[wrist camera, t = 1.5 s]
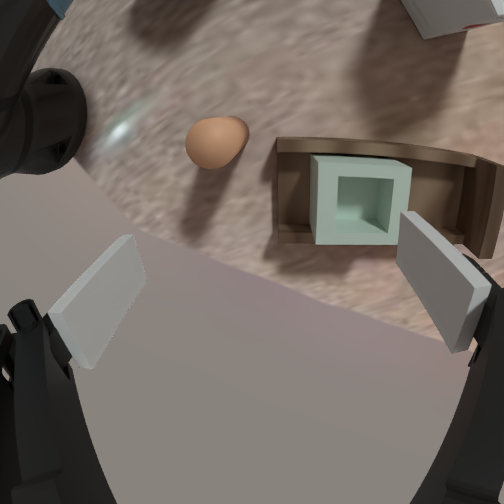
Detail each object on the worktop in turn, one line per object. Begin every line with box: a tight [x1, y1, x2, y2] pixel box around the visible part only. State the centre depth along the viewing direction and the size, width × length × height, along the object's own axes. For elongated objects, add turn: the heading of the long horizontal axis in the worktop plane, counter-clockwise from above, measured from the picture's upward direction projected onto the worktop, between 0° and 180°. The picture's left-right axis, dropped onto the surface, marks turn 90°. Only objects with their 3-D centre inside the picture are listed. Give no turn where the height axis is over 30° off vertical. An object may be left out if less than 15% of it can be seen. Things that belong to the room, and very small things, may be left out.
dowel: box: [186, 117, 249, 169], centre depth 26 cm, size 4×4×11 cm
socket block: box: [309, 153, 412, 245], centre depth 28 cm, size 9×8×6 cm
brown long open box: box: [277, 137, 504, 259], centre depth 29 cm, size 26×11×8 cm, turn 92°
